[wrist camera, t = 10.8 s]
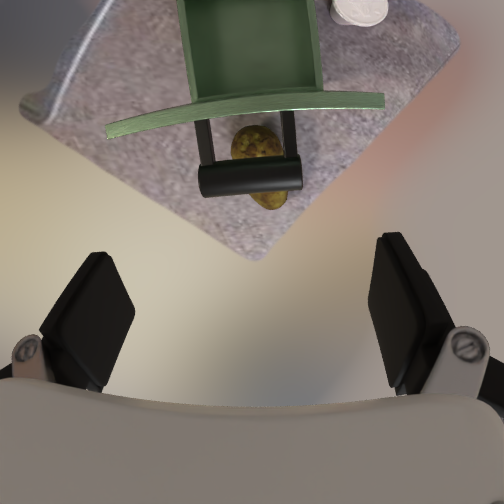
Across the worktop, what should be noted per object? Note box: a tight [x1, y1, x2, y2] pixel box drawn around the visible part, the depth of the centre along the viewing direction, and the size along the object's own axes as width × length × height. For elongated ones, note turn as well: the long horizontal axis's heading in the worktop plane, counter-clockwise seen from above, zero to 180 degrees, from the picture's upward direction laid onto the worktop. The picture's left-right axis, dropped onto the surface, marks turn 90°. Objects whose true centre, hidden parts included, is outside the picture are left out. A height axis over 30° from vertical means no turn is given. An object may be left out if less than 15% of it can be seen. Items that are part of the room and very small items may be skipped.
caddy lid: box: [105, 90, 385, 198], centre depth 21 cm, size 18×14×5 cm
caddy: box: [176, 0, 323, 103], centre depth 28 cm, size 17×14×12 cm
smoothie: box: [330, 0, 388, 27], centre depth 24 cm, size 6×6×14 cm
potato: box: [231, 125, 288, 210], centre depth 40 cm, size 8×13×8 cm, turn 176°
